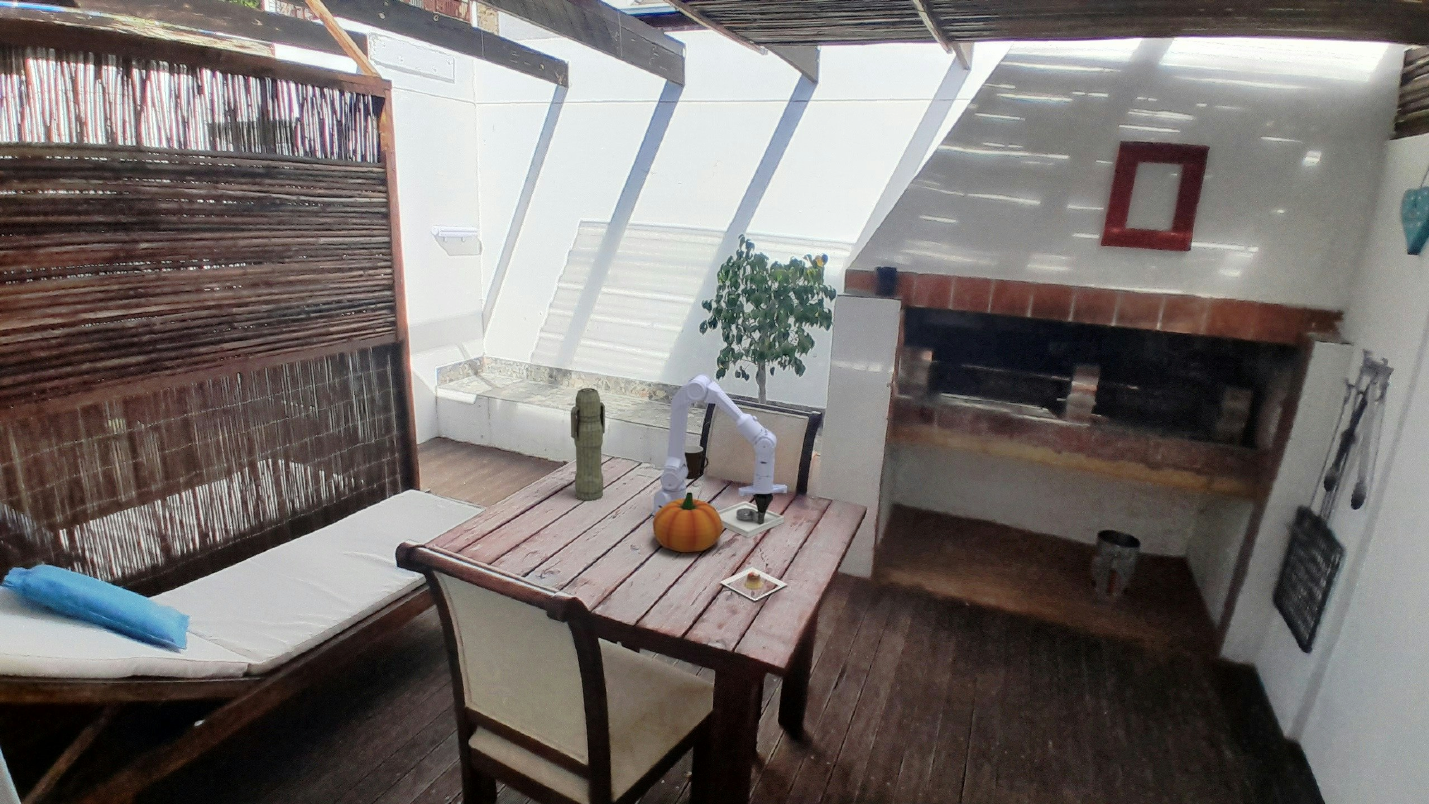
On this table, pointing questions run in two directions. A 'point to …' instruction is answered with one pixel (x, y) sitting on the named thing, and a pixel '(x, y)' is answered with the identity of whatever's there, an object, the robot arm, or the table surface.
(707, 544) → the pumpkin
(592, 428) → the green carved statue
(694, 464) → the coffee mug
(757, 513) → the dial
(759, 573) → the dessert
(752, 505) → the board
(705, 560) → the table surface
